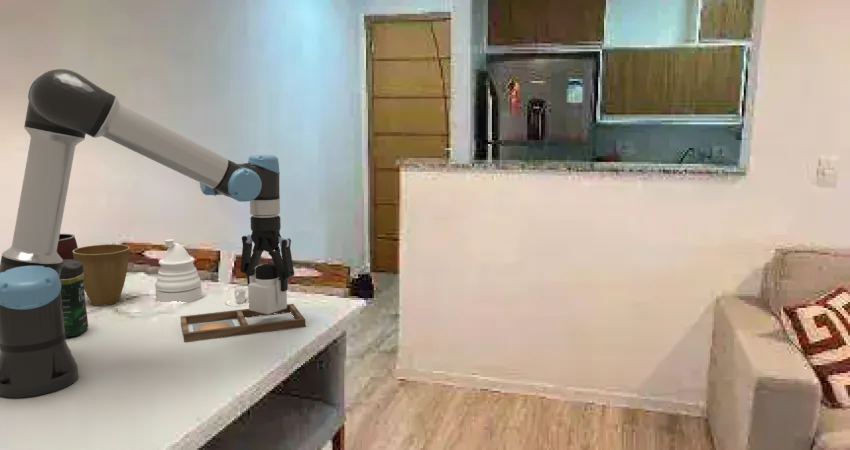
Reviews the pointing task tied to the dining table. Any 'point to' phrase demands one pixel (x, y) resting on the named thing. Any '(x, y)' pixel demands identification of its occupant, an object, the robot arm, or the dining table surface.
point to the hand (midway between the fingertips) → (267, 301)
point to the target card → (213, 325)
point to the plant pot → (103, 271)
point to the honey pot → (177, 276)
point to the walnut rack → (243, 327)
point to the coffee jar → (73, 297)
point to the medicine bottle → (265, 290)
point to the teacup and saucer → (239, 297)
